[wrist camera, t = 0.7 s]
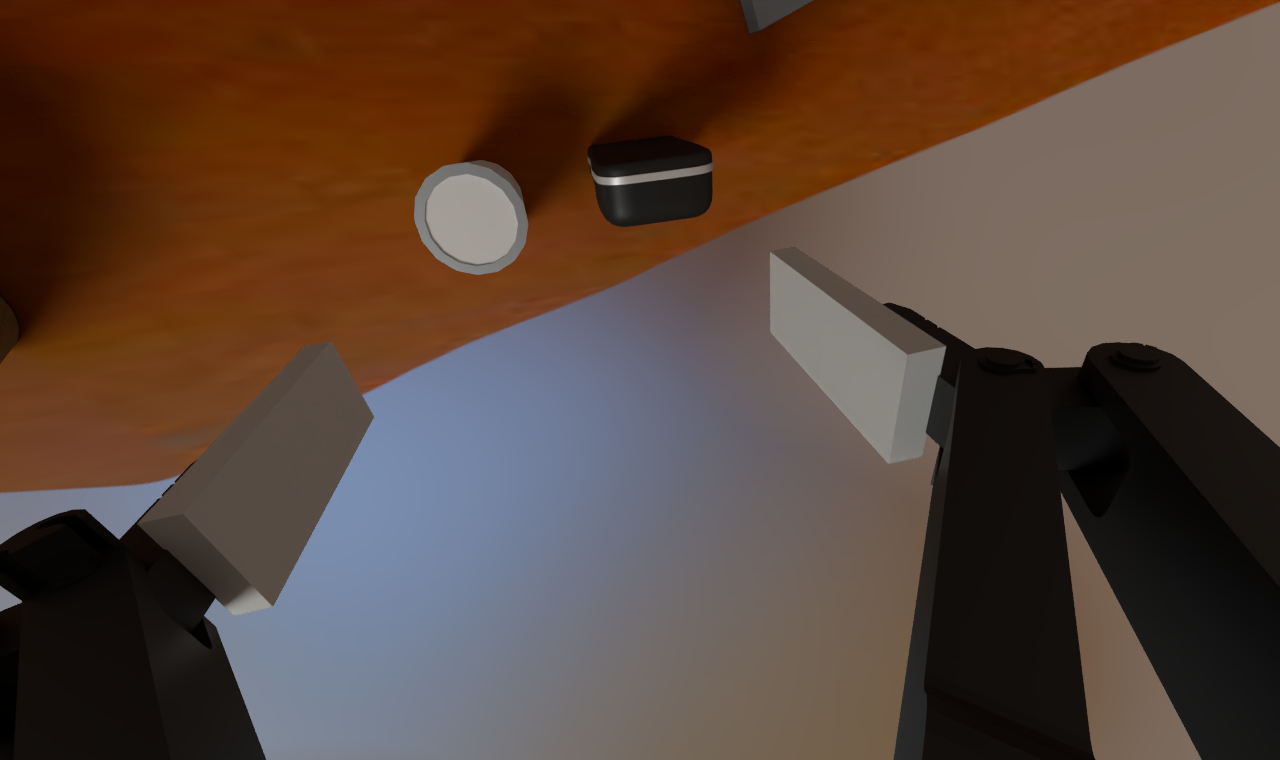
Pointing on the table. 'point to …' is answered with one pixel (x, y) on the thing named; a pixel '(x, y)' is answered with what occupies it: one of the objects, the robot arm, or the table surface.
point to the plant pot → (7, 329)
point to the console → (768, 11)
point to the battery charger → (651, 180)
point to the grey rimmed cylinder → (472, 216)
